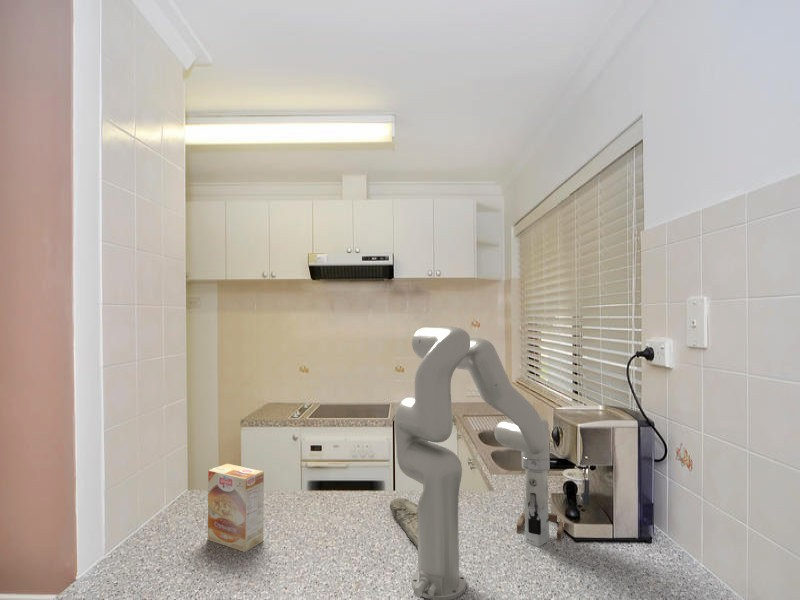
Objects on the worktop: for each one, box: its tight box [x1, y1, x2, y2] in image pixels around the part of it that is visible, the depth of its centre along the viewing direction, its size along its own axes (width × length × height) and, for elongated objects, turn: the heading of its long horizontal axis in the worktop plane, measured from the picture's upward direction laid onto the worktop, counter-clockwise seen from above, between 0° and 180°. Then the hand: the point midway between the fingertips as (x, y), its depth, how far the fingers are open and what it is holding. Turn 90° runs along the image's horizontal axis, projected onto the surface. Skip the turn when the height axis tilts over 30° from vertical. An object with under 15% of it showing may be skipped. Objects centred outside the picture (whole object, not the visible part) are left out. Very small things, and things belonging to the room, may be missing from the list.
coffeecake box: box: [207, 463, 265, 553], centre depth 124 cm, size 15×7×20 cm, turn 62°
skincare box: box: [523, 496, 550, 547], centre depth 123 cm, size 6×4×12 cm
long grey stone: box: [389, 497, 418, 549], centre depth 130 cm, size 35×5×10 cm
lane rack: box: [516, 508, 565, 542], centre depth 130 cm, size 12×12×2 cm
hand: (536, 526), depth 123 cm, fingers closed on skincare box, 6 cm apart
